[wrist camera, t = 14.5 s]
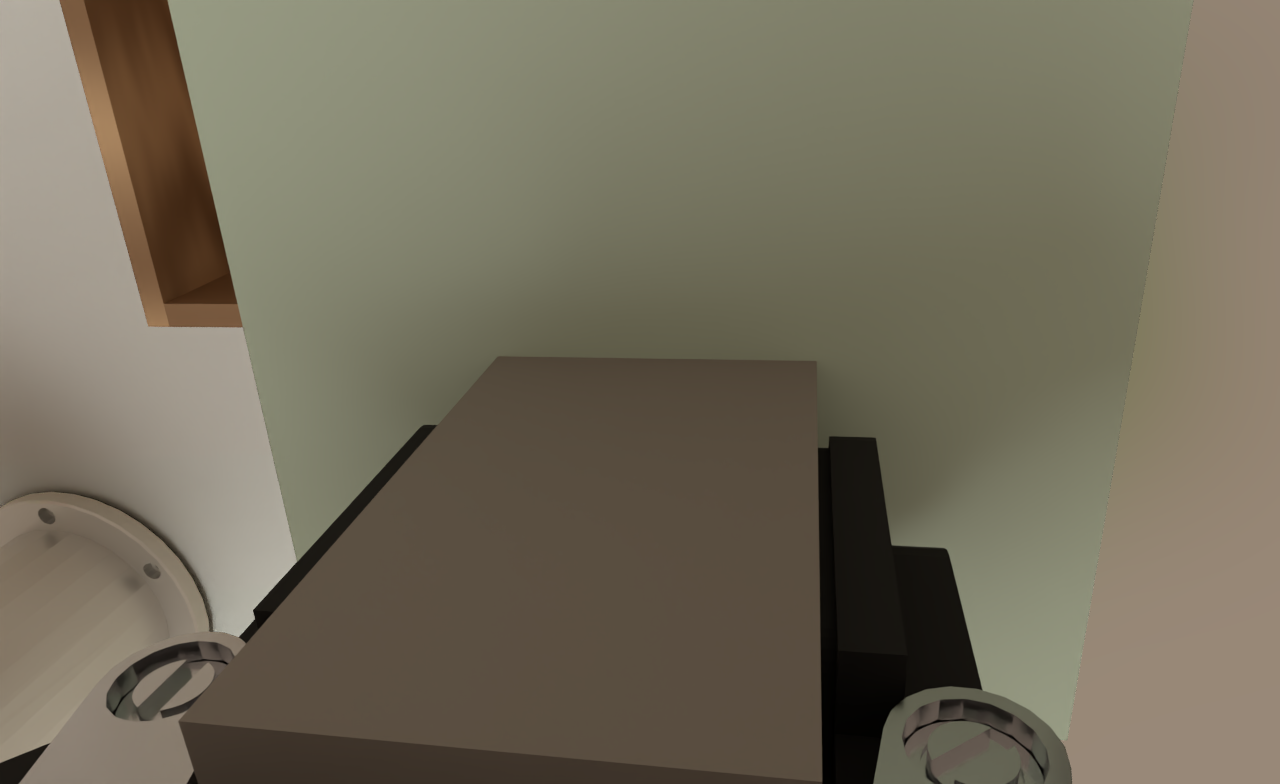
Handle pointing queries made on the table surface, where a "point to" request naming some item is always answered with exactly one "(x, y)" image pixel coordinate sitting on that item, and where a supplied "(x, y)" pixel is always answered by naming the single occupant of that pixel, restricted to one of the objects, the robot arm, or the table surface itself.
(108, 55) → the brown wooden open box
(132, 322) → the table surface
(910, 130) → the lid
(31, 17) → the table surface
